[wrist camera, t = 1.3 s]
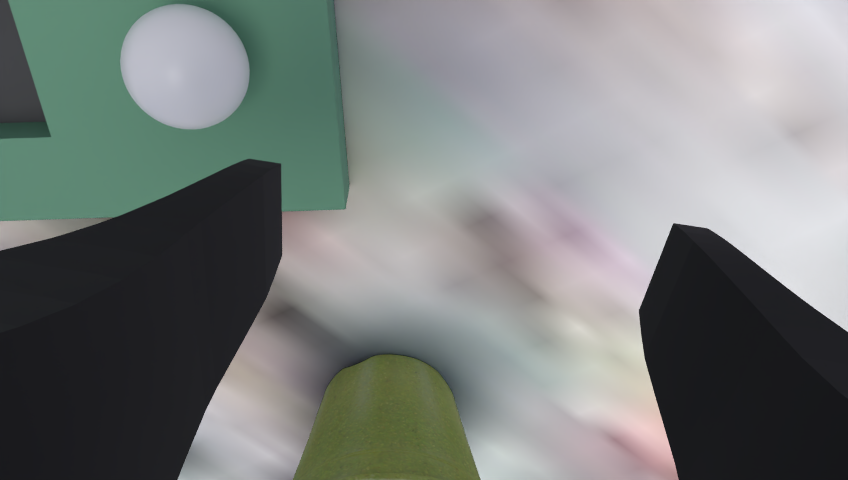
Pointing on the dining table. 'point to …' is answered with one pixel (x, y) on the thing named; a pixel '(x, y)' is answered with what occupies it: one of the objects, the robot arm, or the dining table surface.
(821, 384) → the robot arm
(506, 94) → the dining table surface
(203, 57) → the ball
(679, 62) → the dining table surface
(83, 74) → the putting mat
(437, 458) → the plant pot
